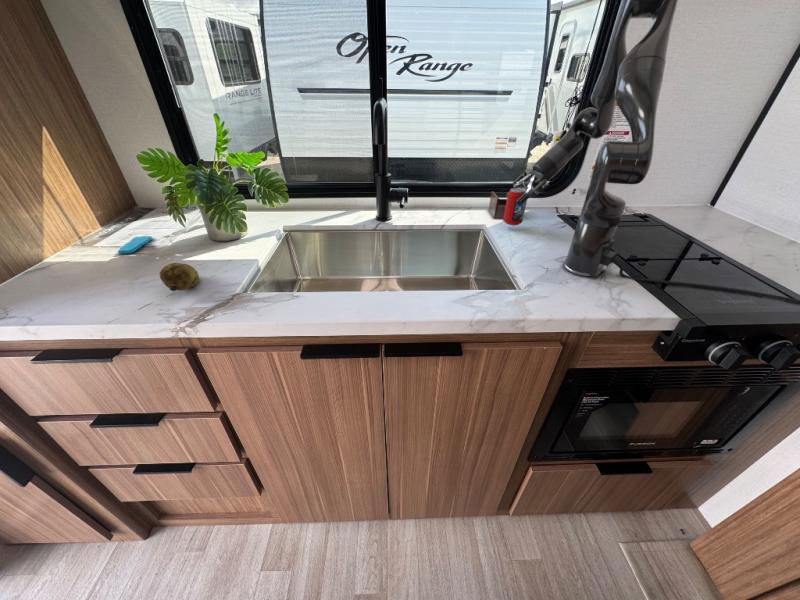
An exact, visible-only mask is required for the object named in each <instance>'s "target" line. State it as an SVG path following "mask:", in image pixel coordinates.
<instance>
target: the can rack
mask: <svg viewBox="0 0 800 600" xmlns="http://www.w3.org/2000/svg"><path fill="white" fill-rule="evenodd" d="M489 198H490V199H489V205H488V212H489V214H490V215H491V216H492V218H493V219H494V220H496V219H497V220H499V219H500V220H503V219H504V213H505V207H506V202H507V198H499V196H498V195H497V194H496V193H495V192H494V191H490V197H489Z"/></svg>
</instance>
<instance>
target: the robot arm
mask: <svg viewBox="0 0 800 600" xmlns="http://www.w3.org/2000/svg"><path fill="white" fill-rule="evenodd" d="M678 3H679V0H621V1H620V5H619V8H618V11H617V15H616V17H615V18H616V19H615V21H614V25H613V28H612V32H611V35H610V39H609V43H608V46H607V50H606V53H605V56H604V60H603V64H602V66H601V70H600V73H599V75H598V78H597V79H596V80H597V81H596V83H595V85H594V87H593V91H592V93H591V96H590V102H591V104H592V105H593V106H594V107H595V108H594V107H591V106H590V107H587V108H585V109H583V110H581V111H580V112H579V113H578V114H577V116H576V117H575V119H574V121H573V122H572V124H571V125H570V126H569V128H568V130H567V131H566V133H565V134H564V135H563V136H562V137H561V138H560V139H559V141H557V143H555V144H554V145H553V146H552V147H551V148H549V149H548V150H547V151H546V152H545V153H544V154H543V155H542V156H541V157H540V158H539V159H538V160H537V161H536V162H535V163H534V164H533V165H532V170H531V171H529V172H527V171H526V170H524V171H522V172H521V173H520V174H519V175H518V176H517V178H515V180H513V182H512V185H513V187H512V188H524V189H526V190H527V191H526V193H524V194H523V195H522V196H521V197H520V198H519V199H518V200H517V201H516V202H517V203H518V205H522V204H523V203H524V202H525V201H526V200H527V201H528V200H529V199H531V198H533V199H536V198H537V197H538V196H539V195H540V194H542V192H545V190H546V189H547V188H548V187H549V186H550V184H549V182H550V180H551V179H553V178H554V177H555V175H557V174H558V173H559V171H561V170H562V169H563V168H564V167H565V166H566V165H567V164H568V163H569V161H570V160H571V159H572V158H574V157H575V155H577V154H578V153H579V152H580V151H581V150H582V149H583V147H584V141H583V139H582V137H581V136H580V135H579V134H581V133H582V134H584V135H586V136H587V137H589V138H591V139H593V140H599V139H601V138H602V137H604V136H605V135H606V134H607V133H608V131H609V130H610V128H611V126H612V124H613V120H614V114H615V109H616V105H617V107H618V108H619V110H620V112H621V113H622V115H623V117H624V118H625V120H626V122H627V123H628V126H629V129H630V133H631V141H624V140H608V141H606V142H604V144H602V146H601V147H600V149H599V151H598V153H597V156H596V158H595V163H594V166H593V170H592V174H591V178H590V181H589V185H588V188H587V192H586V195H585V199H584V202H583V205H582V208H581V211H580V215H579V217H578V219H577V223H576V227H575V230H574V233H573V237H572V239H571V242H570V245H569V249H568V252H567V255H566V258H565V261H564V263H563V268H564V269H565V270H566V271H568V272H569V273H571V274H574V275H578V276H582V277H590V278H593V279H594V278H596V277H597V276H598V275H600V273H602V272H603V270H604V269H605V266H606V267H608V266H610V265H611V264H612V263H614V264H615V265H617V266H618V268H619V271H618V274H619V276H621V277H623V278H627V279H631V280H635V281H641V282H651V283H658V284H666V285H676V286H677V285H678V286H687V287H688V286H689V287H690V286H691V287H697V288H706V289H715V290H723V291H729V292H736V293H742V294H748V295H749V294H750V295H756V296H760V297H765V298H766V297H767V298H772V299H777V300H782V301H788V302H792V303H797V304H800V299H796V298H791V297H786V296H782V295H775V294H771V293H766V292H759V291H754V290H747V289H740V288H733V287H726V286H720V285H718V286H717V285H711V284H703V283H702V284H701V283H694V282H693V283H692V282H685V281H684V282H683V281H673V280H662V279H661V280H660V279H655V278H642V277H633V276H629V275H626V274H625V273H624V272H623V271H624V266H623V265H622V264H621V263H620V262H619V261H618V260H616V256H617V255H618V252H616V251H613V250H612V247H613V245H614V243H615V240H614V237H615V235H616V231H617V229H618V226H619V223H620V221H621V220H622V219H621V218H622V216H623V214H624V211H625V209H626V205H627V203H626V201H625V200H624V199H623V198H621V197H619V196H618V195H615V194H613V193H611V192H609V191H608V190H607V187H606V186H607V184H617V185H638V184H640V183H642V182H643V181H644V180H645V179H646V177H647V175H648V173H649V171H650V168H651V165H652V161H653V157H654V155H653V154H654V148H655V147H654V146H655V133H656V131H655V130H656V120H657V119H656V118H657V112H658V111H657V110H658V104H659V99H660V94H661V89H662V84H663V80H664V75H665V68H666V62H667V54H668V48H669V47H668V46H669V41H670V36H671V30H672V25H673V22H674V17H675V14H676V10H677V7H678ZM631 19H651V20H652V25H651V26H650V28H649V29H648V31H647V32H646V33H645V34H644V36H643V37H642V38H641V39H640V40H639V41H638V42H637V43H636V44H635V45H634V47H632V49H630V51H629V52H628V51H627V40H626V39H627V38H626V37H627V32H628V31H627V30H628V27H629V23H630V21H631ZM508 193H509V191H508V192H507V193H506V194H505V195H506V197H507V196H508Z"/></svg>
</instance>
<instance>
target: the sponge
mask: <svg viewBox="0 0 800 600" xmlns="http://www.w3.org/2000/svg"><path fill="white" fill-rule="evenodd" d="M152 240H153V236H150V235H145V236H135V237H133V238H132V239H130V240H129V241H128V242H126V243H125V244H123V245H122V246H121V247H120V248H119V249H118V251H117V252H118V254H119V255H122V254H123V255H124V254H133V253H135V252H136V251H137V250H139V249H140V248H142V247H143V246H145V244H148V243H149V242H150V241H152Z"/></svg>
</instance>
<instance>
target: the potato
mask: <svg viewBox="0 0 800 600" xmlns="http://www.w3.org/2000/svg"><path fill="white" fill-rule="evenodd" d="M159 278H160V281H161V282H162V283H163V285H165V287H167V288H168V289H169V290H170V291H171V292H176V291H186V290H187V289H190V288H193V287H195V286H196V285H197V284H198V283H199V279H200V276H199V272H198V271H197V269H196V268H194V267H193V266H192V265H190V264H188V263H181V262H171V263H168V264H166V265H164V266H163V267H162V269H160V271H159Z"/></svg>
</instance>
